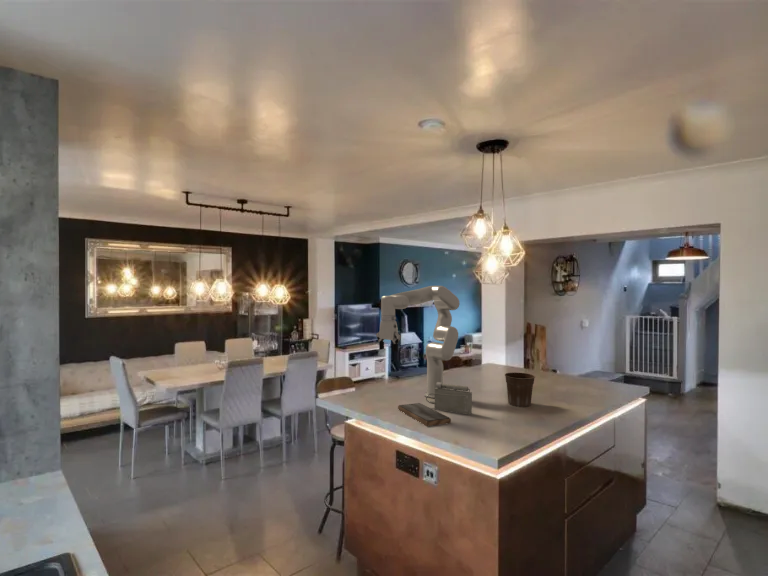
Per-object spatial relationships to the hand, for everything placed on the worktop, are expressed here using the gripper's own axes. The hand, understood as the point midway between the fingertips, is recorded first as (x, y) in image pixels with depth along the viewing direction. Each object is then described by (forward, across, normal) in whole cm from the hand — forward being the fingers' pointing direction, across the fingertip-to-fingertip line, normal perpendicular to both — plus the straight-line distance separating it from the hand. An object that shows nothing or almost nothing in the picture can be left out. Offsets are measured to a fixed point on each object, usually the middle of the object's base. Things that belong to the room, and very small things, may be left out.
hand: (388, 350), depth 238 cm
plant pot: (+31, -50, -52) cm, 79 cm away
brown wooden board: (+30, -26, +4) cm, 40 cm away
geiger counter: (+30, -29, -14) cm, 44 cm away
